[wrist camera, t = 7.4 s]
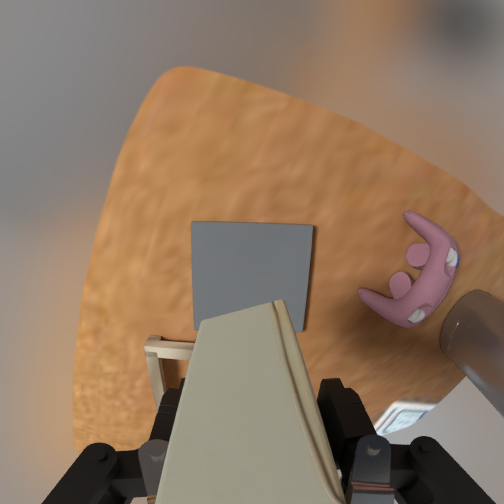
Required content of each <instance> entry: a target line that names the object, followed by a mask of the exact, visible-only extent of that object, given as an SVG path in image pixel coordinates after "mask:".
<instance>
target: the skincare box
mask: <svg viewBox="0 0 504 504" xmlns="http://www.w3.org/2000/svg"><path fill="white" fill-rule="evenodd" d="M155 504H346V501H345V497H344V494H343V490H342V486H341V483H340V479H339V476H338V472H337V469H336V465H335V462H334V458H333V455H332V451H331V448H330V445H329V441H328V438H327V434H326V431H325V428H324V424H323V421H322V418H321V414H320V411H319V408H318V404H317V401H316V398H315V394H314V391H313V388H312V384H311V381H310V378H309V375H308V371H307V368H306V365H305V362H304V359H303V355H302V352H301V349H300V346H299V343H298V339H297V336H296V333H295V330H294V327H293V324H292V321H291V318H290V315H289V312H288V309H287V306H286V303H285V301H284V300H283V299H280V300H277V301H273V302H269V303H265V304H262V305H258V306H254V307H250V308H247V309H243V310H239V311H236V312H232V313H228V314H224V315H220V316H217V317H213V318H209V319H205V320H203V321H201V324H200V327H199V331H198V335H197V338H196V342H195V345H194V349H193V352H192V356H191V360H190V363H189V367H188V371H187V375H186V379H185V383H184V387H183V390H182V394H181V398H180V402H179V405H178V409H177V413H176V417H175V421H174V425H173V429H172V433H171V437H170V441H169V445H168V449H167V453H166V458H165V462H164V466H163V471H162V475H161V479H160V484H159V488H158V493H157V497H156V502H155Z"/></svg>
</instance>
